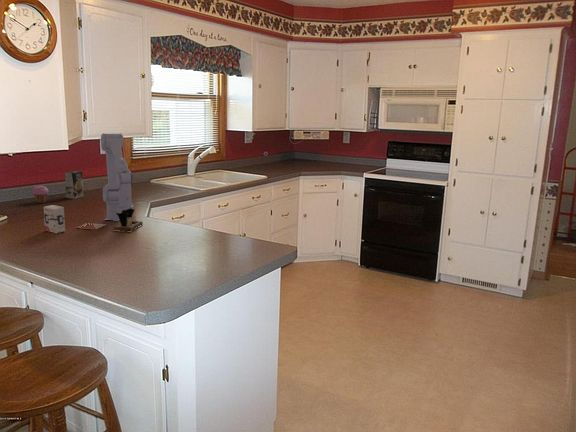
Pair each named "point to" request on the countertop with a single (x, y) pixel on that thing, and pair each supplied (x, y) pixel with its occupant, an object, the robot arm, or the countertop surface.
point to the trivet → (94, 225)
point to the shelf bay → (136, 224)
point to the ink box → (54, 218)
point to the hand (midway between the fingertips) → (125, 224)
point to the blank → (128, 222)
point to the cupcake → (40, 193)
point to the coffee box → (74, 184)
